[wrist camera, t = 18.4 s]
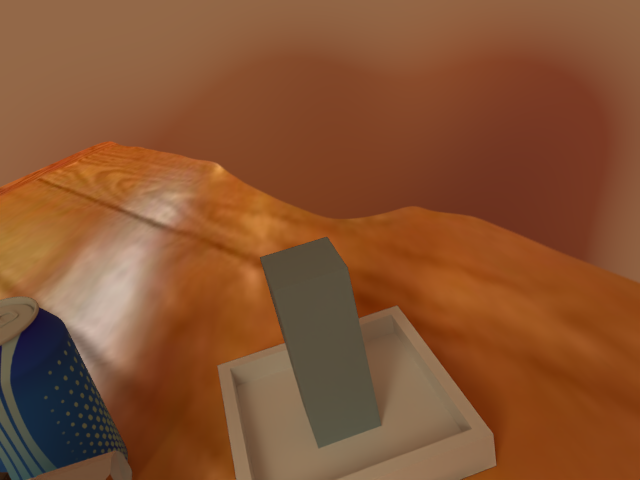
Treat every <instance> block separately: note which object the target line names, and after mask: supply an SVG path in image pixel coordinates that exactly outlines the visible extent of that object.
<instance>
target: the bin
mask: <svg viewBox="0 0 640 480" xmlns="http://www.w3.org/2000/svg"><path fill="white" fill-rule="evenodd" d="M359 323H360V328H361V332H362V337H363V342H364V346H365V351H366V356H367V360H368V365H369V370H370V374H371V379H372V383H373V388H374V393H375V397H376V402H377V407H378V411H379V416H380V421H381V425H382V426H379V427H377V428H374V429H371V430H368V431H365V432H363V433H360V434H357V435H354V436H352V437H349V438H346V439H343V440H341V441H338V442H335V443H332V444H330V445H327V446H324V447H321V448H319V449H318V446H317V443H316V440H315V437H314V434H313V432H312V429H311V426H310V423H309V420H308V417H307V414H306V412H305V409H304V406H303V403H302V399H301V396H300V392H299V389H298V386H297V382H296V379H295V375H294V372H293V369H292V365H291V362H290V358H289V355H288V351H287V348H286V345H285V343H283V344H280V345H277V346H274V347H271V348H268V349H265V350H262V351H259V352H256V353H253V354H250V355H247V356H244V357H241V358H238V359H235V360H232V361H229V362H226V363H223V364H220V365H217V366H218V372H219V378H220V384H221V390H222V396H223V402H224V408H225V414H226V420H227V426H228V432H229V438H230V444H231V450H232V456H233V462H234V468H235V474H236V480H460V479H463V478H466V477H468V476H471V475H473V474H476V473H479V472H481V471H484V470H486V469H489V468H491V467H494V466H496V457H495V446H494V436H493V433H492V432H491V430H490V429H489V428H488V426H487V425H486V424H485V422H484V421H483V420H482V418H481V417H480V416H479V414H478V413H477V411H476V410H475V409H474V407H473V406H472V405H471V403H470V402H469V401H468V399H467V398H466V397H465V395H464V394H463V393H462V391H461V390H460V389H459V387H458V386H457V385H456V383H455V382H454V381H453V379H452V378H451V377H450V375H449V374H448V373H447V371H446V370H445V369H444V367H443V366H442V365H441V363H440V362H439V361H438V359H437V358H436V357H435V355H434V354H433V353H432V351H431V350H430V348H429V347H428V346H427V344H426V343H425V342H424V340H423V339H422V338H421V336H420V335H419V334H418V332H417V331H416V330H415V328H414V327H413V326H412V324H411V323H410V322H409V320H408V319H407V318H406V316H405V315H404V314H403V312H402V311H401V310H400V308H399V307H398V306H394V307H391V308H388V309H385V310H382V311H379V312H376V313H373V314H370V315H367V316H364V317H361V318H359Z"/></svg>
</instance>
